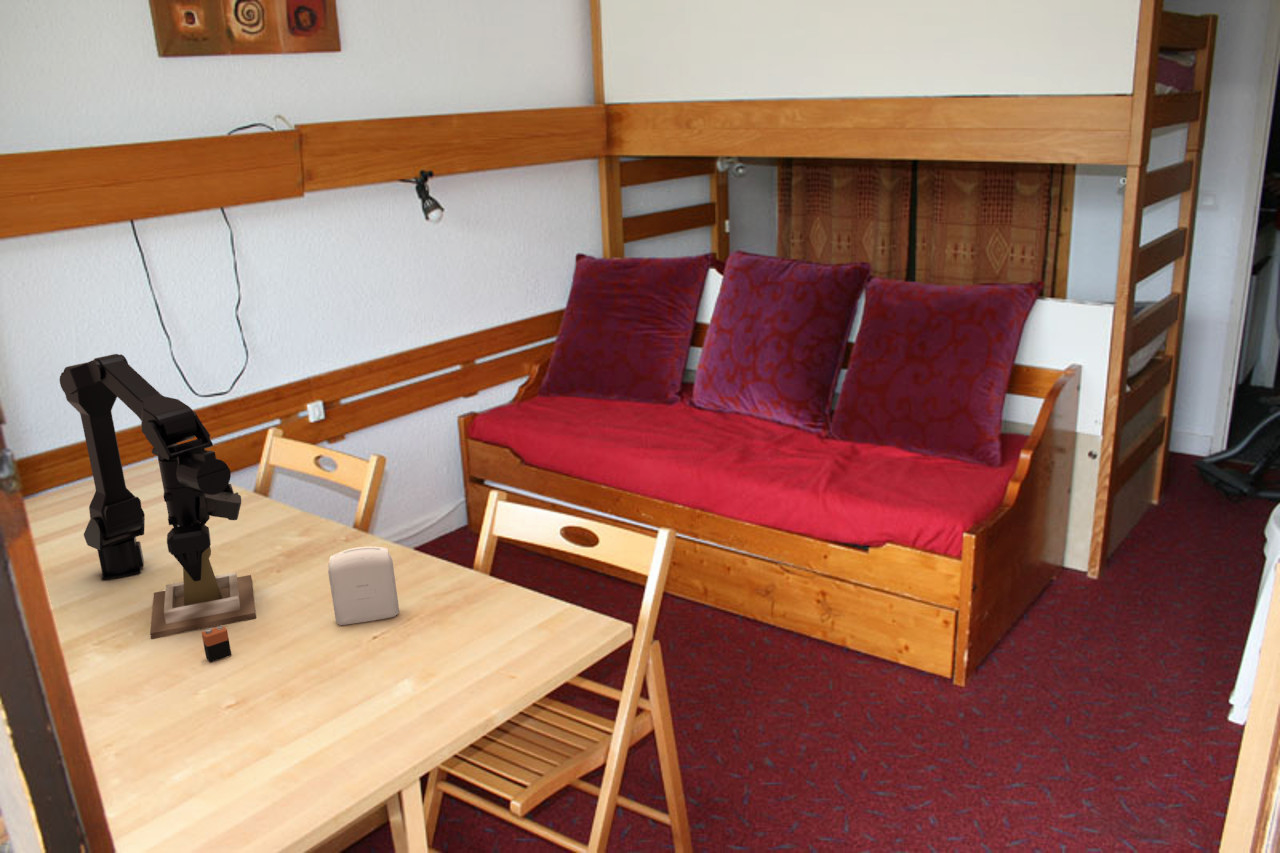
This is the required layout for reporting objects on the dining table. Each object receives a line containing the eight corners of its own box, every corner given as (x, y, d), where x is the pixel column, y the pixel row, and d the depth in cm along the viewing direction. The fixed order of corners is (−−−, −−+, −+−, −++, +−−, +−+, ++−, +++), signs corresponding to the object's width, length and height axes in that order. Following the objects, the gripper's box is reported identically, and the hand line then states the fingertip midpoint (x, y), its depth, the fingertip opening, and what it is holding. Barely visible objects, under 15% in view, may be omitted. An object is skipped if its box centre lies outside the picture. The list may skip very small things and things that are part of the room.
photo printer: (335, 628, 170) (325, 558, 166) (335, 616, 174) (326, 547, 170) (399, 619, 172) (391, 549, 169) (399, 607, 176) (391, 539, 173)
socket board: (151, 638, 169) (147, 622, 168) (154, 597, 183) (151, 582, 182) (256, 618, 175) (253, 601, 174) (251, 579, 189) (249, 564, 188)
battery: (205, 658, 162) (200, 629, 161) (227, 650, 164) (222, 621, 163) (210, 663, 161) (204, 634, 159) (232, 655, 163) (227, 626, 161)
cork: (228, 594, 181) (218, 534, 178) (212, 610, 176) (201, 549, 172) (194, 594, 182) (183, 535, 178) (177, 610, 176) (165, 550, 173)
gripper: (235, 492, 166) (250, 582, 171) (232, 458, 183) (246, 540, 188) (159, 504, 163) (176, 596, 167) (163, 468, 179) (178, 552, 184)
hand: (197, 569), depth 177 cm, fingers open, 9 cm apart
